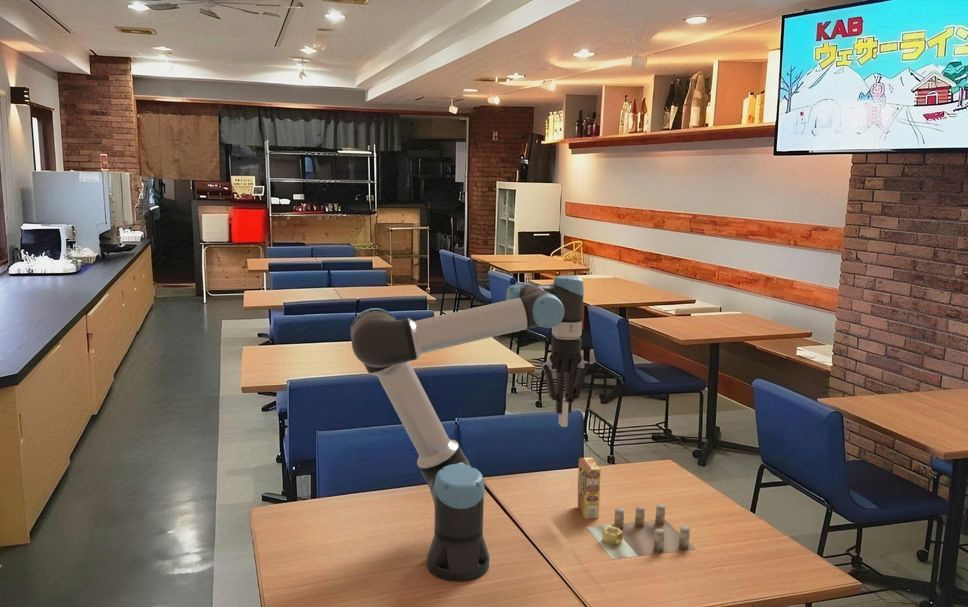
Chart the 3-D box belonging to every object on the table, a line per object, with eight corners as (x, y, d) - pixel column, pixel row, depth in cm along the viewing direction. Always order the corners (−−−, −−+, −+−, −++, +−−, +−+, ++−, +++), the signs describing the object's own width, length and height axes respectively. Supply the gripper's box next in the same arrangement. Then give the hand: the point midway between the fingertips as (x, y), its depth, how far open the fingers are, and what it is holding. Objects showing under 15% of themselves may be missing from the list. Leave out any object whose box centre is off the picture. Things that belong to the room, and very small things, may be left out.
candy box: (599, 521, 202) (601, 469, 199) (584, 522, 201) (586, 469, 199) (590, 507, 210) (592, 456, 208) (575, 508, 210) (578, 457, 207)
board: (611, 563, 180) (613, 539, 179) (585, 531, 196) (586, 509, 195) (696, 553, 186) (698, 530, 185) (664, 523, 202) (665, 502, 201)
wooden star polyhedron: (608, 546, 186) (608, 536, 185) (600, 537, 191) (600, 527, 190) (624, 544, 187) (624, 534, 186) (615, 535, 192) (616, 525, 191)
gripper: (547, 340, 182) (543, 431, 186) (596, 338, 186) (591, 428, 190) (537, 334, 190) (534, 421, 194) (585, 332, 193) (581, 418, 197)
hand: (562, 424), depth 192 cm, fingers closed
